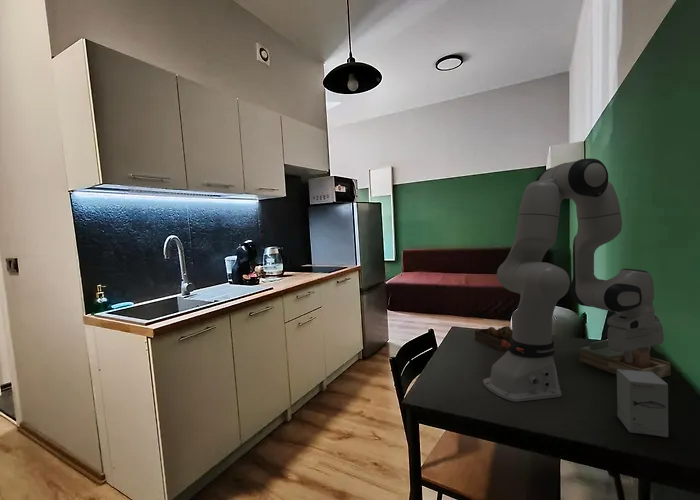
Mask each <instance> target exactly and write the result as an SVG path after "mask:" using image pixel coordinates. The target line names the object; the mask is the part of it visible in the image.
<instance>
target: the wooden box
mask: <svg viewBox="0 0 700 500" xmlns="http://www.w3.org/2000/svg"><path fill="white" fill-rule="evenodd" d="M579 362H580V363H583V364H585V365H586V364H587V365H589V366H591V367H595V368H597V369H599V370H602V371H605V372H607V373H610V374H613V375H615V374H616V376H617V369H620V370H632V371H645V372H653V373H654V374H655V375H657V376H658V377H659V378H661V379H662V378H666V377H670V376H671V375H672V374H671V372H672V371H671V370H672V369H671V365H672V364H671V362H670V361H666V360H662V359H658V358H655V357H652V356H650V367H649V368H645V369H640V368H637V367H634V366H631V365H628V364H625V363H624V356H622V357H618V358H613V359H608V358H605V357H602V356H599V355H596V354H593V353H590V352H587V351H584V350H581V349H580V350H579Z"/></svg>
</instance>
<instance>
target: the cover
mask: <svg viewBox="0 0 700 500" xmlns="http://www.w3.org/2000/svg"><path fill="white" fill-rule="evenodd" d="M580 350H584V351H587V352H590V353H593V354H596V355H599V356H602V357H605V358H608V359H613V358H618V357H622V356H624V353H623V352H617V351H614V350H611V349H610V348H609V346H608V339H606V338H605V339H602V340H601V339H600V340H596V341H592V342H589V344H588V345H587V346H582V347H580Z"/></svg>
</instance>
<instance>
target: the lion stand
mask: <svg viewBox="0 0 700 500" xmlns="http://www.w3.org/2000/svg"><path fill="white" fill-rule="evenodd" d="M488 328H489V327H488ZM488 328H481V329H476V330H474V341H475V340H477V341H476V342H478V341H479V342H478V343H480V342H481V343H480V344H482V343H483V345H484V344H485V345H484V346H486V345H488V346H487V347H489V346H490V347H489V348H491V347H492V348H491V349H493V348H494V349H493V350H495V349H496V351H497V352H499V353H502V352H505V351H506V352H507V351H508V348H506V347H503V346H502V344H501V342H502V341H503V340H505V341H507V342H509V343H510V340H511V338H512V336H511V338H508V339H502V340H499V339H497V338H494V337H492V336H489V335H487V333H488Z"/></svg>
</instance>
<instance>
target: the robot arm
mask: <svg viewBox="0 0 700 500" xmlns="http://www.w3.org/2000/svg"><path fill="white" fill-rule="evenodd" d="M565 199H566V200H570V199H571V200H572V201H573V203H574V204H575V206H576V207H575V209H576V210H575V211H576V212H575V214H576V218H577V230H576V231H577V232H576V234H575V235H574V238H573V240H572V241H573V242H572V279H571V280H572V281H571V280H570V275H569V274H568V272H567V271H566V270H565V269H564V268H561V267H559V266H557V265H555V264H552V263H550V262H542V261H543V259H544V257H545V255H546V253H547V252H548V251H549V249H551V248H553V246H554V245H555V244H556V242H557V236H558V228H559V221H560V220H559V219H560V211H561V204H562V202H563V200H565ZM622 228H623V218H622V213H621V207H620V201H619V198H618V195H617V192H616V190H615V188H614V185H613V184H612V183H611V182H610V181H609V172H608V170H607V167H606V165H605V164H604V163H603V161H602V160H600V159H598V158H582V159H578V160H575V161H570V162H564V163H561V164H558V165H555V166H553V167H550V168H547V169H545V170H543V171H542V172H541V173H539V174H538V176H537V177H536V179H535V180H534V181H533V182H530V183H529V184H527V186H526V187H525V189H524V191H523V194H522V197H521V202H520V205H519V208H518V215H517V223H516V229H515V234H514V239H513V243H512V246H511V249H510V251H509V253H508V255H507V257H506V259H505V260H504V261H503V262H502V263H501V264H500V265H499V267H498V268H497V271H496V278H497V281H498V283H499V284H500V285H501V286H502V287H504V288H505V289H506V290H508V291H509V292H512V293H516V294H519V295H520V297H519V298H520V299H519V304H518V306H517V308H516V309H515V310H514V311H513V312H512V313H511V330H512V336H511V337H512V338H511V340H510V343H509V342H507V341H505V340H503V341H502V342H501V344H502V346H503V347H506V348H508V350H507V351H506V352H505V353H504V354H502V356H501V357H499V358H498V360H496V361H495V362H494V363H493V365H492V366H491V370H490V377H486V378H483V380H482V384H483V386H484V387H485V388H486V389H487V390H488V391H490V392H491V393H493V394H494V395H496V396H498V397H500V398H503V399H505V400H507V401H511V402H515V403H518V402H519V403H520V402H525V401H537V400H545V399H554V398H560V397H562V396H563V395H562V390H561V385H560V382H559V377H558V371H557V365H556V362H555V358H554V355H555V354H556V353H555V352H556V351H555V349H556V347H555V341H554V340H553V318H554V317H553V316H554V312H555V309H556V306H557V303H558V302H559V301H560V299H562V298H563V297H565V296H566V294H567V293H568V292H569V289H570V295H571V298H572V299H573V301H574V302H575V303H576V304H577V305H579V306H583V307H591V308H596V309H599V310H603V311H604V310H605V311H608V312H613V313H614V314H613V315H611V316H610V317H608V318H607V319H606V324H607V325H608V326H609V327H608V328H607V340H608V346H609V348H610V349H611V350H614V351H617V352H623V353H624V355H625V358H626V362H629V363H633V362H635V357H633V356H632V354H631V353H632V352H633V350H634V349H640V350H644V351H647V352H650V351H651V349H652V347H653V346H657V345H661V344H663V343H664V340H665V339H664V336H665V335H664V329H663V324H662V323H661V322H660V321H661V320H660V318H659V317H658V316H656V315H655V308H654V306H653V303H654V300H655V287H654V280H653V276H652V274H651V273H650V272H648V271H646V270H644V269H643V270H642V269H635V268H622V269H620V270H619V272H618V273H617V274H616V275H615V276H613V277H611V278H609V279H607V280H606V279H600V278H597V276H596V275H595V252H596V251H597V250H598V248H600V247H602V246H603V245H605V244H608V243H610V242H611V241H613V240H615V238H617V237H618V236H619V235H620V233H621V232H622Z"/></svg>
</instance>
